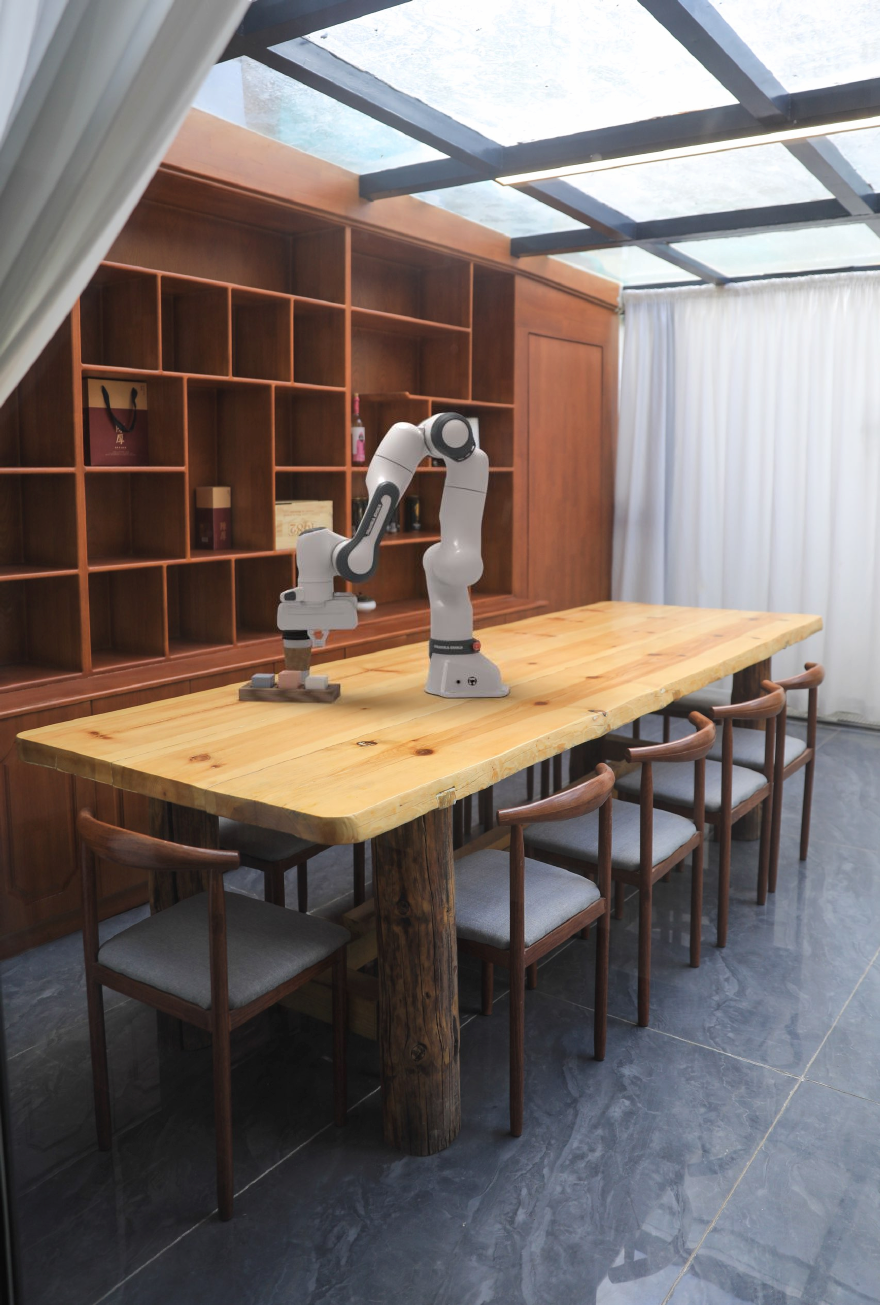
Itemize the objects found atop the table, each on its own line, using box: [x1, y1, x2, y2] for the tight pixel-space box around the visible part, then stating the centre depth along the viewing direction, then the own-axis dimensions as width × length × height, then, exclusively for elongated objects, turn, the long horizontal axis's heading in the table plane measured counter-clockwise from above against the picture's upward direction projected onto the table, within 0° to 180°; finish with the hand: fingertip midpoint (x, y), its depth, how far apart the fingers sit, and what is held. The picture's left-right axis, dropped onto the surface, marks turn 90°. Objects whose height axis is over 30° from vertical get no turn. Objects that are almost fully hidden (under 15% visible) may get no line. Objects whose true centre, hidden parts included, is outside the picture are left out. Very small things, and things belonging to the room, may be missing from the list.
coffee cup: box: [281, 630, 313, 683], centre depth 279 cm, size 8×8×15 cm
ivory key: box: [305, 674, 329, 690], centre depth 259 cm, size 5×5×4 cm
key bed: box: [238, 680, 341, 704], centre depth 260 cm, size 24×10×3 cm, turn 84°
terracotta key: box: [277, 669, 302, 689], centre depth 260 cm, size 5×5×4 cm
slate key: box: [250, 673, 276, 688], centre depth 261 cm, size 5×5×4 cm
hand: (319, 646), depth 258 cm, fingers closed
